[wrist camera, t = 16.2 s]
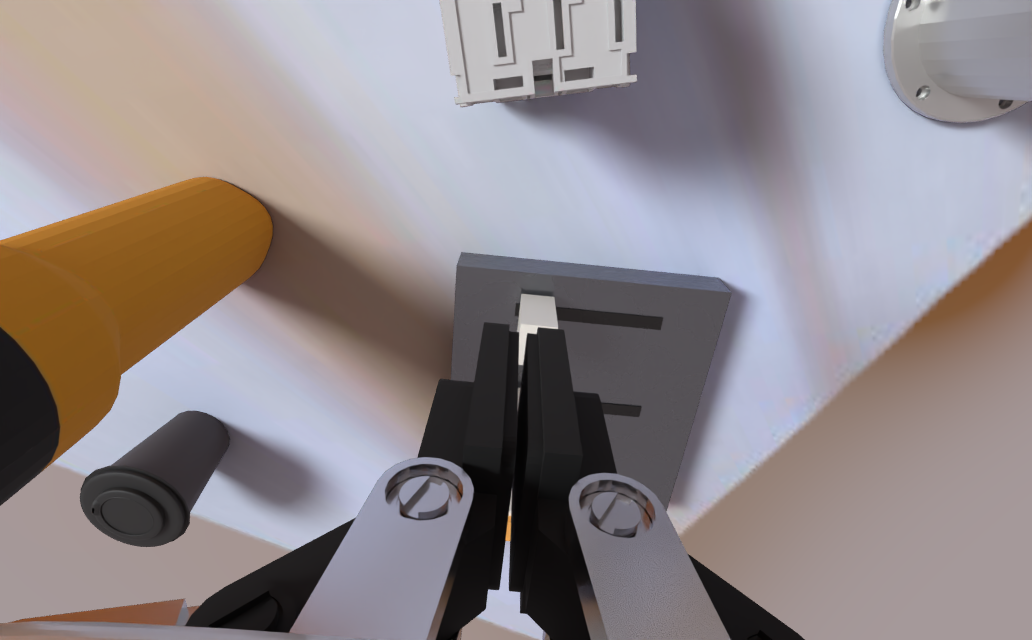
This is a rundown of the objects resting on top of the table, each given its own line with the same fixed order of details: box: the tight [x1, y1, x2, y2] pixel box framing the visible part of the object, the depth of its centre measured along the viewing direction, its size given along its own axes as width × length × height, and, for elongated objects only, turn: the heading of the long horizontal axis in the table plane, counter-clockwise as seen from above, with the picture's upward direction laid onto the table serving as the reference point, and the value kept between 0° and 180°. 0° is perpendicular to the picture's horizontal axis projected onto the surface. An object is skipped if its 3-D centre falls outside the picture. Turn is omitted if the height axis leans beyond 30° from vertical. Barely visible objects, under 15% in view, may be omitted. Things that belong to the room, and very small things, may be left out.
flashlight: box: [0, 177, 273, 505], centre depth 28 cm, size 10×26×10 cm
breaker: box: [517, 294, 558, 365], centre depth 36 cm, size 2×3×5 cm
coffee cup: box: [80, 411, 230, 547], centre depth 44 cm, size 8×8×10 cm
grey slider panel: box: [451, 252, 732, 511], centre depth 44 cm, size 20×22×3 cm
